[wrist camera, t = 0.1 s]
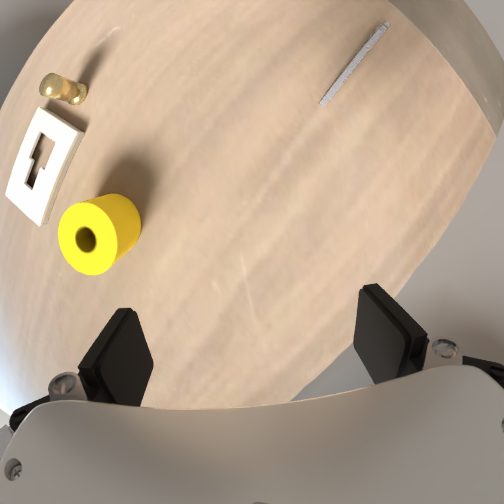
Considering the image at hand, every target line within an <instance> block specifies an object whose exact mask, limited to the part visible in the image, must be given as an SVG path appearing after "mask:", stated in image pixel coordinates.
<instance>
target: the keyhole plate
mask: <svg viewBox="0 0 504 504" xmlns="http://www.w3.org/2000/svg"><path fill="white" fill-rule="evenodd" d="M41 133H43V134H45V135H46V136H47V137H49V138H50V139H52V140H53V141H54V142H56V144H55V146H54V149H53V151H52V153H51V155H50V158H49V160H48V163H47V165H46V168H44V167H40V170H39V173H38V175H37V178H36V181H35V184H34V187H33V188H32V187H31V186H29V185H28V184H27V180H28V177H29V174H30V172H31V169H32V166H33V163H34V161H35V160H34V159H32V158H31V157H32V154H33V152H34V149H35V147H36V145H37V142H38V140H39V138H40V135H41ZM84 135H85V133H84V132H82V131H79V129H78V128H76V127H74V126H73V125H71V124H70V123H68V122H67V121H65V120H64V119H62V118H60V117H59V116H57V115H56V114H54V113H53V112H51V111H49V110H48V109H46V108H42V107H38V109H37V111H36V113H35V115H34V117H33V119H32V121H31V124H30V126H29V128H28V130H27V133H26V135H25V138H24V140H23V143H22V145H21V148H20V150H19V153H18V156H17V159H16V161H15V164H14V167H13V170H12V173H11V177H10V180H9V183H8V187H7V190H6V194H5V195H6V196H7V197H8V198H9V199H10V200H11V201H12V202H13V203H14V204H15V205H16V206H17V207H18V208H19V209H21V210H22V211H23V212H24V213H25V214H26V215H27V216H28V217H29V218H30V219H31V220H33V221H34V222H35V223H36V224H37V225H38V226H39V227H40V226H42V225H45V224H47V222H48V219H49V216H50V213H51V210H52V207H53V204H54V202H55V199H56V196H57V194H58V191H59V189H60V186H61V184H62V181H63V179H64V176H65V174H66V172H67V169H68V167H69V165H70V163H71V161H72V159H73V156H74V154H75V152H76V150H77V148H78V146H79V144H80V142H81V140H82V138H83V136H84Z"/></svg>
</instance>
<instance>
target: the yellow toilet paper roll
mask: <svg viewBox="0 0 504 504" xmlns="http://www.w3.org/2000/svg"><path fill="white" fill-rule="evenodd" d="M140 232H141V219H140V215H139V213H138V210H137V208H136V207H135V205H134V204H133V203H132V202H131V201H130V200H129V199H128V198H126V197H125V196H123V195H120V194H107V195H103V196H100V197H97V198H93V199H90V200H87V201H84V202H80V203H77V204H75V205H73V206H71V207H70V208H68V209H67V210H66V212H65V213H64V214H63V216H62V218H61V221H60V224H59V230H58V238H59V244H60V248H61V250H62V253H63V255H64V257H65V258H66V260H67V261H68V262H69V264H70V265H71V266H72V267H73V268H75V269H76V270H77V271H79V272H81V273H84V274H87V275H98V274H101V273H103V272H105V271H106V270H107V269H109V268H110V267H111V266H112V265H113V264H114V263H115V262H116V261H117V260H119V259H120V258H121V257H122V256H123V255H124V254H125V253H126V252H128V251H129V250H130V249H131V248H132V247H133V246H134V245H135V244H136V242H137V241H138V239H139V236H140Z"/></svg>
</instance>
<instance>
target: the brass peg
mask: <svg viewBox="0 0 504 504" xmlns="http://www.w3.org/2000/svg"><path fill="white" fill-rule="evenodd" d="M39 92H40V94H41V95H42V96H46V97H50V98H54V99H58V100H61V101H67V102H68V103H69V104H72V105H79V104H80V103H82V102H83V101H84V99H85V98H86V96H87V92H88V89H87V86H86V85H85V84H82V83H76V82H75V81H72V80H70V79H67V78H65V77H62V76H60V75H57V74H55V73H49V74H48V75H46V76H45V77H44V78H43V80H42V82H41V84H40V87H39Z"/></svg>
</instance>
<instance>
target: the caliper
mask: <svg viewBox="0 0 504 504" xmlns="http://www.w3.org/2000/svg"><path fill="white" fill-rule="evenodd" d="M389 26H391V24H389V23H388V22H387V21H385V22H383V23H382V24H380V25H379V26H378V27H377V28H376V29H374V30H373V33H372V34H370V35H369V37H370V38H369V39H368V40H367V41H366V42H365V44H364V45H363V46H362V48H361V49H360V50H359V52H358V53H357V54H356V55H355V57H354V58H353V59H352V60H351V62H350V63H349V64H348V66H347V67H346V68H345V69H344V71H343V72H342V73H341V74H340V76H339V77H338V78H337V80H336V81H335V82H334V83H333V85H332V86H331V87H330V89H329V90H328V91H327V93H326V94H325V95H324V97H323V98H322V100H321V101H320V102H319V104H321V105H322V106H323V107H325V105H326V104H327V103H328V101H329V100H331V98H332V97H333V96H334V94H335V93H336V92H337V90H338V89H339V88H340V87H341V85H342V84H343V83H344V81H345V80H346V79H347V77H348V76H349V75H350V74H351V72H352V71H353V70H354V69H355V67H356V66H357V65H358V63H359V62H360V61H361V60H362V58H363V57H364V56H365V55H366V53H367V52H368V51H369V50H370V48H372V46H373V45H374V44H375V43H376V41H377V40H378V39H379V38H380V37H381V35H382V34H383V33H384V31H385V30H387V29H388V27H389Z"/></svg>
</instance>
